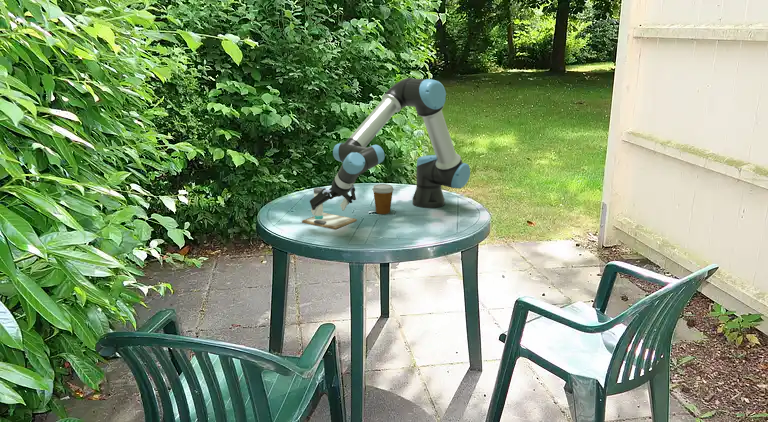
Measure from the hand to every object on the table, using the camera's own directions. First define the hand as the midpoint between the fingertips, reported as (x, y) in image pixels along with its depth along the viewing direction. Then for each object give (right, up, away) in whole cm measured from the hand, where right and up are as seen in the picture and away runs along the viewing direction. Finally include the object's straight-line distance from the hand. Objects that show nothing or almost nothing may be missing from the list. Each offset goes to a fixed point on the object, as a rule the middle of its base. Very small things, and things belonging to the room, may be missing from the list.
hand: (327, 210), depth 259 cm
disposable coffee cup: (+23, -1, +22) cm, 32 cm away
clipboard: (0, -5, +7) cm, 9 cm away
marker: (-4, -3, +9) cm, 10 cm away
